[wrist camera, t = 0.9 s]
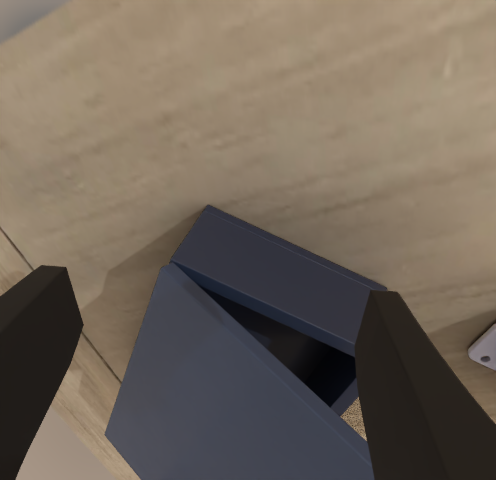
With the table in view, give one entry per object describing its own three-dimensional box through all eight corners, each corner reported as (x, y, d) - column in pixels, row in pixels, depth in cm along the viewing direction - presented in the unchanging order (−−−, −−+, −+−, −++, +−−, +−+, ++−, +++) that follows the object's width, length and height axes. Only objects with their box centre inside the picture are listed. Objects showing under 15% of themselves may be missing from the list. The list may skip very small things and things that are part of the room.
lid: (393, 465, 16) (386, 480, 16) (247, 587, 25) (238, 599, 25) (173, 261, 21) (160, 267, 20) (113, 427, 29) (103, 434, 29)
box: (387, 287, 26) (391, 361, 21) (281, 422, 34) (267, 496, 30) (207, 203, 25) (170, 258, 21) (147, 361, 34) (112, 425, 29)
